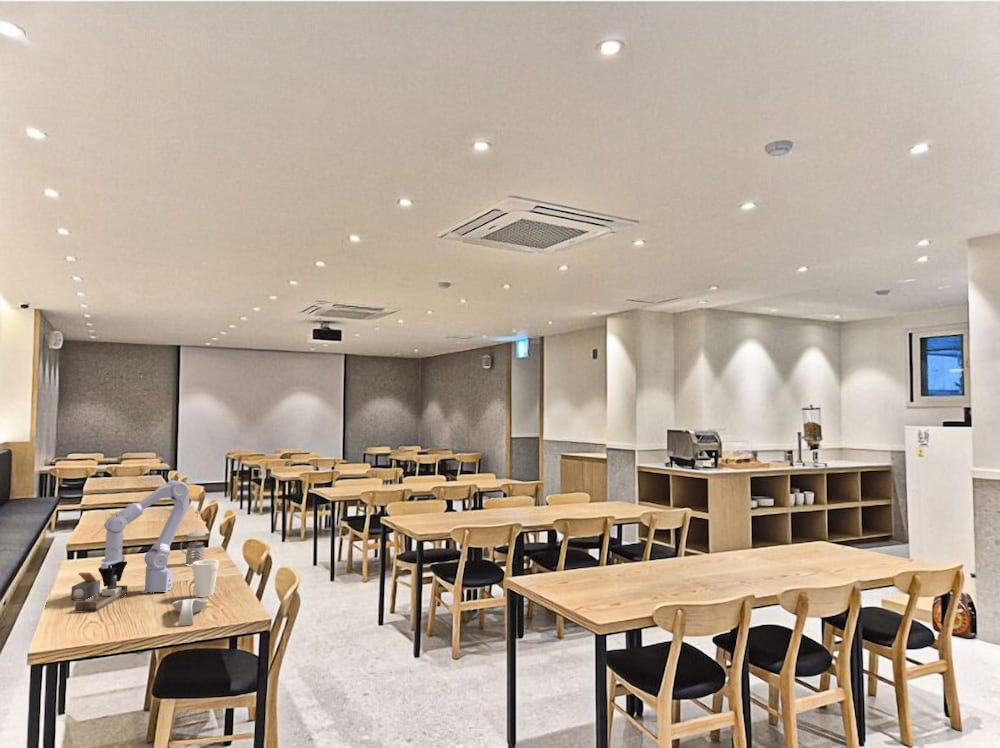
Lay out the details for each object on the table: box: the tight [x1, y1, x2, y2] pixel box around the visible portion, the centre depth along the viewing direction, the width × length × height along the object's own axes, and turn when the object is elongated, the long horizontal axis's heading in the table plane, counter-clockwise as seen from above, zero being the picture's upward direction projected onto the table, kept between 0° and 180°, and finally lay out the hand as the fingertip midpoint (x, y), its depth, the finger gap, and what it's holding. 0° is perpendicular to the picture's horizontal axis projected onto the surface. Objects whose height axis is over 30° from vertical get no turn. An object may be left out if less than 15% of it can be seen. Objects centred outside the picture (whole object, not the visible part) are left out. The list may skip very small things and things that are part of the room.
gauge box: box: [70, 579, 101, 600], centre depth 261 cm, size 6×10×5 cm, turn 5°
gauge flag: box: [78, 572, 98, 581], centre depth 262 cm, size 4×7×1 cm
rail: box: [74, 585, 128, 613], centre depth 253 cm, size 7×24×3 cm, turn 5°
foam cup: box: [191, 559, 220, 597], centre depth 265 cm, size 10×9×13 cm
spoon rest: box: [171, 598, 209, 627], centre depth 238 cm, size 24×12×7 cm, turn 21°
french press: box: [180, 510, 206, 565], centre depth 321 cm, size 10×12×25 cm
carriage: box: [101, 574, 122, 596], centre depth 260 cm, size 5×5×7 cm
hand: (112, 583), depth 260 cm, fingers open, 7 cm apart
